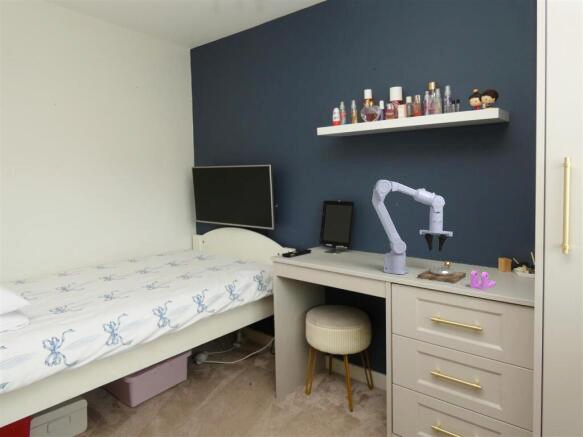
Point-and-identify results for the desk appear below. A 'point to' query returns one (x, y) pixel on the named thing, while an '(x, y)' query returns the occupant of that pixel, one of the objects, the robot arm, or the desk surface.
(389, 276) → the desk surface
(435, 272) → the dial
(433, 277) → the dial plate
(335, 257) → the desk surface
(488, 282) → the bracket
